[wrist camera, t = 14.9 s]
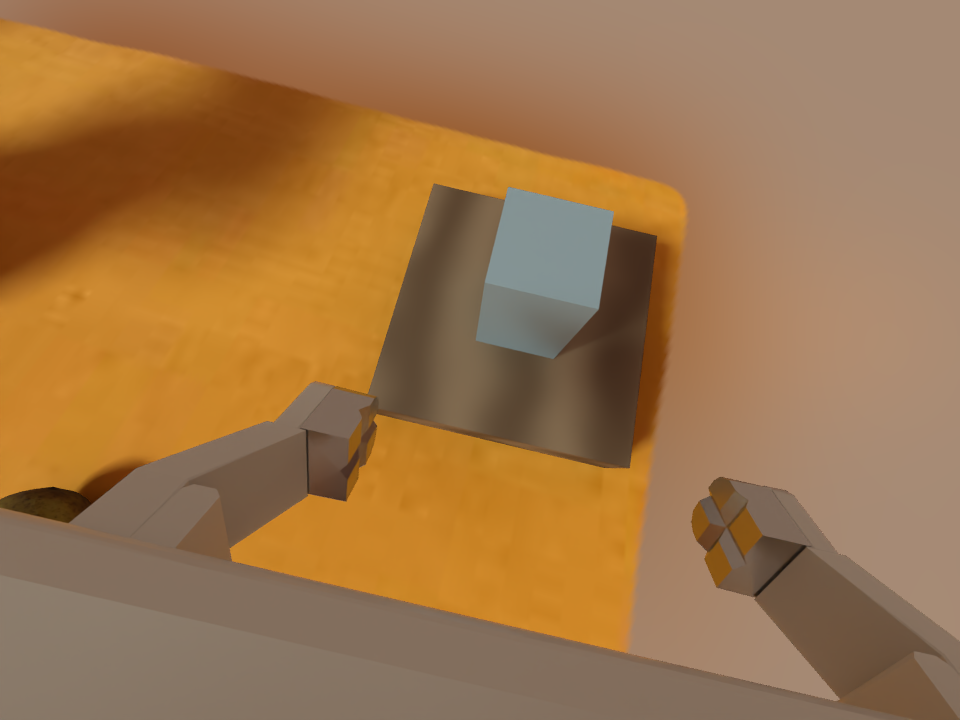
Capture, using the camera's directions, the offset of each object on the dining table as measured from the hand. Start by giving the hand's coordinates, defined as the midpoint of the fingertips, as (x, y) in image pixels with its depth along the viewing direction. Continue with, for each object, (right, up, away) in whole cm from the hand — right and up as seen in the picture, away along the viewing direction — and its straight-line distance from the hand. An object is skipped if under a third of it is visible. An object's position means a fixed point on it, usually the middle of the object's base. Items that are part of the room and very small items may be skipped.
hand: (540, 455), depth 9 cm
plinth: (+1, +4, +20) cm, 20 cm away
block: (+1, +5, +16) cm, 17 cm away
